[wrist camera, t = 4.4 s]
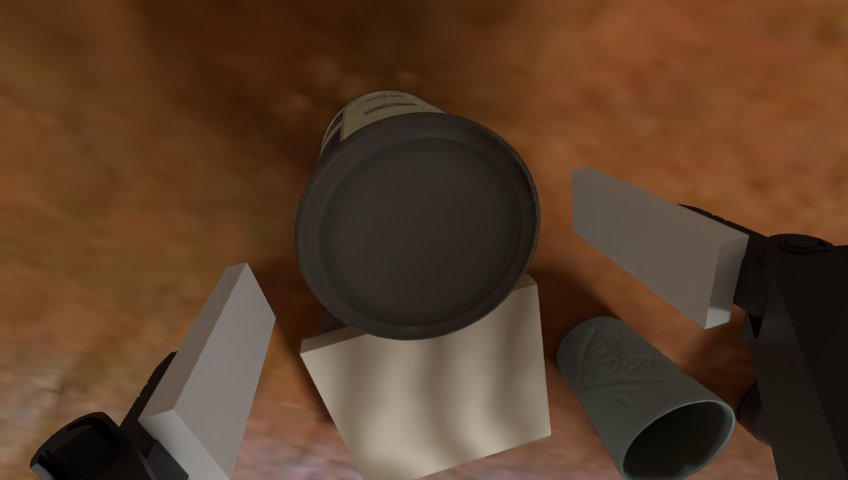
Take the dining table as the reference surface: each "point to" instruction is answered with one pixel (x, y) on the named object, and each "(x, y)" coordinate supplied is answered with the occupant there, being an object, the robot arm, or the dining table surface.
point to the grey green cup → (642, 402)
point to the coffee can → (414, 219)
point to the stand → (434, 390)
